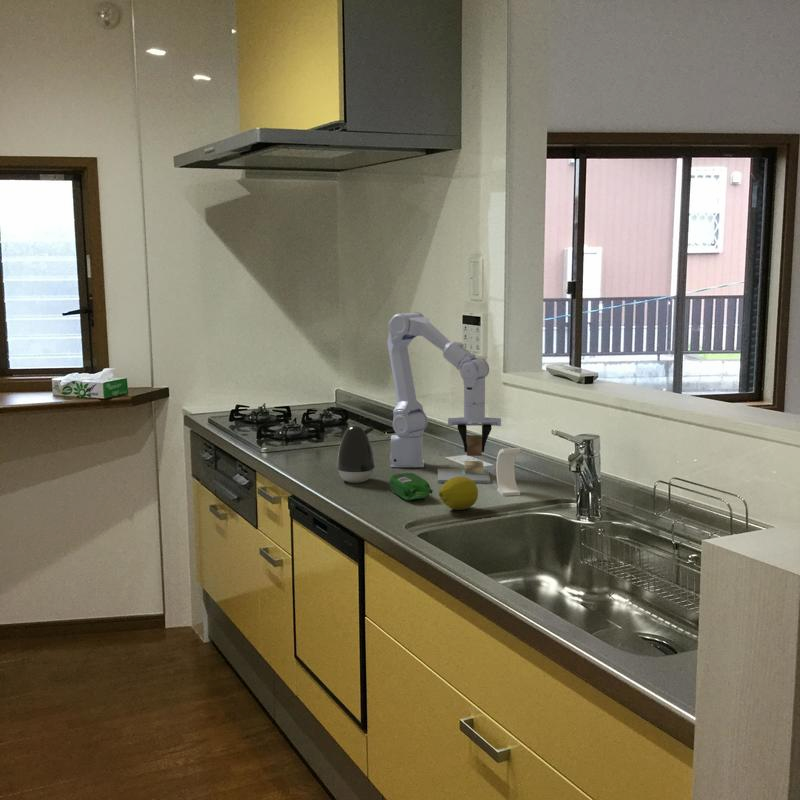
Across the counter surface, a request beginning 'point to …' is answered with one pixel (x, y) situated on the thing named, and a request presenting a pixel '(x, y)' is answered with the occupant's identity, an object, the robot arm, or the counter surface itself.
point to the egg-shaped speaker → (355, 455)
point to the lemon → (459, 493)
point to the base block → (473, 467)
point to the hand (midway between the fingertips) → (474, 451)
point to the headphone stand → (506, 472)
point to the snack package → (409, 486)
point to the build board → (462, 475)
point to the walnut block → (474, 445)
